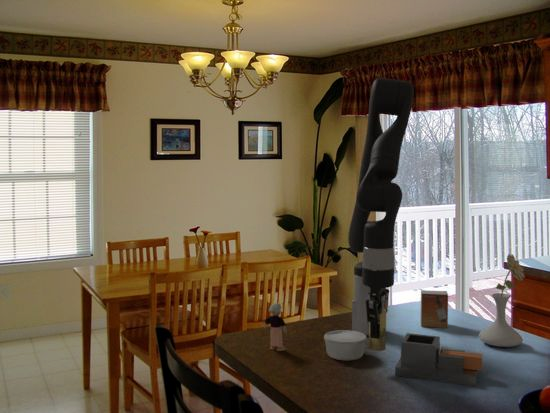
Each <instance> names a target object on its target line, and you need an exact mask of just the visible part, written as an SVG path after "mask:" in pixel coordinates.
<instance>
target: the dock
mask: <svg viewBox="0 0 550 413" xmlns="http://www.w3.org/2000/svg"><path fill="white" fill-rule="evenodd" d="M440 337H441V336H440V335H439V336H438V335H428V334H420V333H409V332H407V333H406V334H405V336H404V337H403V339H402V340H401V342H400V357H399V358H400V359H399V360H398V361H397V363H396V364H395V366H394V375H395V376H396V377H397V376H398V377H404V378H405V377H406V378H414V379H421V380H427V381H435V382H444V383H450V384H459V385H465V386H472V387H473V386H474V387H476V384H477V380H478V375H479V374H478V373H479V370H471V369H463V357H461V356H452V355H443V354H441V353H442V350H450V351H459V352H466V350H460V349H452V348H442V347H441V346H440V344H441V342H440V341H441V338H440Z"/></svg>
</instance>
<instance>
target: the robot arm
mask: <svg viewBox="0 0 550 413" xmlns="http://www.w3.org/2000/svg"><path fill="white" fill-rule="evenodd" d="M414 90H415V89H414V85H413V83H412V82H411V81H407V80H401V79H392V78H384V77H383V78H382V77H379V78H375V80H374V81H373V83H372V86H371V90H370V97H369V104H368V117H367V126H366V134H365V141H364V146H363V152H362V158H361V162H360V169H359V178H358V184H357V185H358V187H357V192H356V197H355V198H356V199H355V203H354V208H353V212H352V217H351V220H350V223H349V230H348V246H349V249H350V250H351V251H352V252H354V253H358V254H359V253H362V261H360V262H358V263H356V264H355V265H354V269H353V299H352V300H351V302H352V303H351V321H352V322H351V331H357V332H361V333H363V334H365V335H366V336H369V322H370V337H371V338H375V339H379V337H380V322H381V320H380V319H381V314H382V313H383V307H386V314H387V313H388V307H389V296H390V290H389V288H391V287H393V286H394V285H395V251H394V248H395V247H394V245H395V244H394V242H395V241H394V237H395V227H396V226H395V225H396V221H397V217H398V213H399V210H400V206H401V204H402V201H403V191H402V188H401V187H400V185H398V183H396V182H393V180H395V178H397V175H398V171H399V164H400V157H401V156H400V155H401V150H402V145H403V142H404V138H405V134H406V131H407V127H408V123H409V121H410V120H409V119H410V116H411V111H412V107H413V102H414V96H415V94H414V92H415V91H414ZM381 115H388V116H395V117H396V118H395V120H394V121H393V123H392V124H391V125H390V126H389V127H388V128H387V129H386V130H385V131H384V130H383V128H382V124H381ZM371 212H373V213H385V216H384V217H383V218H382V219H379V220H369V217H370V214H371ZM378 309H380V310H378ZM373 315H375V317H373Z"/></svg>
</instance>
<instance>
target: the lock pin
mask: <svg viewBox="0 0 550 413" xmlns="http://www.w3.org/2000/svg"><path fill="white" fill-rule="evenodd" d="M440 354H443V355H452V356H461V357H463V369H471V370H478V372H479V371H481V372H482V370H483V353H476V352H467V351H465V352H459V351H450V350H442V353H441V352H440Z"/></svg>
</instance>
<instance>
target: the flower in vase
mask: <svg viewBox="0 0 550 413" xmlns="http://www.w3.org/2000/svg"><path fill="white" fill-rule="evenodd" d="M515 257H516V256H514V254H512V253H511V254H510V253H508V254H507V256H506V262H507V266H508V268H509V271H508V272H507V274H506V276H505V279H504V283H503V285H502V284H501V283H497V285H496V287H495V289H498V290H500V291H501V292H494V293H493V292H492V293H491V294H490V295H491V296H492V298H493V301H494V302H495V309H496V317H495V320H494V322H492V323H491V324H490V325H488V326H487V327H485V328H484V329H482V330H481V331H480V332H479V335H478V338H479V339H480V341H481V342H483V343H485V344H487V345H490V346H493V347H502V348H504V347H505V348H512V347H516V346H519V345H521V344H522V343H523V340H524V339H523V337H522V336H521V334H520V333H519V332H517V330H515V329H514V328H513V327H512V326H511V325H509V324H508V322H507V320H506V309H507V303H508V301H509V299H510V298H512V295H511V294H508V293H505V292H504V290H505V289H506V288H508V289H510V290H512V289H513V288H514V287H515V286H514V283H513V282H512V281H511V280H509V279H508V277H509V275H510V273H512V274H511V275H513V277H514V278H515V279H517V280H518V281H520V282H521V281H524V278H525V277H526V276H525V274H524V272H525V270H524V268H523V267H522V265H521V264H520V261H519V259H516V258H515Z"/></svg>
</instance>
